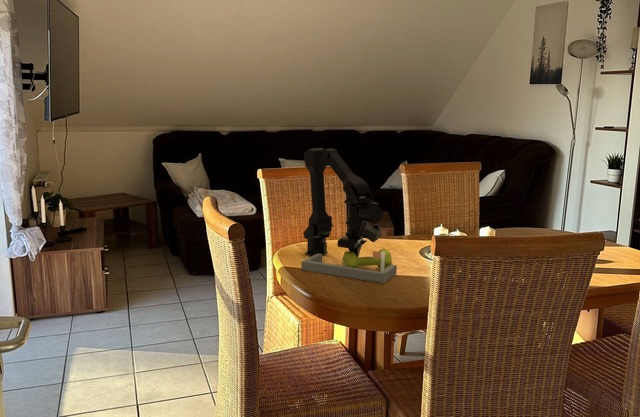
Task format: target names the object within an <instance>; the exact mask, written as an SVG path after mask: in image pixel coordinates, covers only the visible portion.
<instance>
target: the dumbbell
mask: <svg viewBox="0 0 640 417" xmlns="http://www.w3.org/2000/svg"><path fill="white" fill-rule="evenodd" d="M377 251H378V252H385V262H384V269H385V268H387V267H388V266H389V265H391V264H392V263H393V260H392V254H391V252H390V250H388V249H385V248H380V249H379V250H377ZM392 265H393V264H392ZM342 266H346V267H352V268H359V267H366V266H367V267H369V266H377V268H378V269H379V270H380V269H381V259H378V258H373V256H362V257H359V256H358V257H356V255H355V253H353V252H352V251H349V250H345V251H344V253H343V256H342Z"/></svg>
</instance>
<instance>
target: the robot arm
mask: <svg viewBox="0 0 640 417" xmlns="http://www.w3.org/2000/svg"><path fill="white" fill-rule="evenodd" d="M303 160H304V165H305V168H306V169H307V171H308V172H309V175H310V176H309V177H310V180H309V181H310V194H311V196H310V197H311V207H312V210H311V211H312V212H311V213H310V216H309V218H308V226H307V227H306V229H305V230H304V231H303V238H304V239H306V240H307V245H306V247H307V248H306V250H307V251H306V252H305V255H307V256H313V255H315V254H317V253H318V254H323V256H324V255H326V254H328V242H327V238H328V239H329V238H330V235H331V233H332V229H333V226H334V225H333V218H332V215H329V214H328V212H327V208H326V192H325V191H326V190H325V178H324V176H325V175H324V174H325V173H324V172H325V171H326V168H327V166H328V165H329V167H330V168H331V169H332V171H333V172H334V173H335V175H336V176H337V177H338V179H339V180H340V181H341V183H342V189H343V191H344V194H345V195H346V197H347V198H346V199H345V200H344V201H343V203H344V204H346V205H347V206H348V207H347V220H345V225H347V231H346V232H345V236H342V237H340V238H339V239H338V240H337V248H343V249H348V251H352V252H353V253H355V255H356V257H358V258H359V256H360V253H361V249H362V247H363V245H365V244H366V243H367V241H370V243H371V242H372V243H375V242H377V241H378V240H379V239H380V236H381V235H382V230H381V225H380V224H379V223H380V222H381V221H382V220H383V217H384V212H383V210H382V208H381V206H380V203H379V202H375V199H374V196H373V195H372V192H371V190H370V186H369V184H368V183H367V182H366V181H365V180H364V179H363V178H362V177H360V176H358V175H356V174H355V173H354V172H353V171H352V170H351V169H350V167H349V166H348V164H347V163H346V162H345V160H344V159H343V158H342V157H341V156H340V154H339V152H338V150H337V149H335V148H327V149H326V148H325V149H324V148H322V147H321V148H320V147H319V148H309V149H306V151H305V152H304V154H303ZM368 223H372V224H374V225H369V224H368ZM364 238H365V239H366V240H365V239H364Z"/></svg>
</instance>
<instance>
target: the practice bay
mask: <svg viewBox="0 0 640 417" xmlns="http://www.w3.org/2000/svg"><path fill="white" fill-rule="evenodd" d="M378 251H379V250H377V251H376V250H372V257H373V258H378V259H381V269H379V270H380V271H377V270H371V269H364V268H359V267H357V268H352V267H346V266H343V265H338V264H332V263H325V262H323V256H324V255H323V254H318V253H317V254H315V255H310V257H308V258H306V259H304V260H302V261H301V271H307V272H312V273H319V274H324V275H331V276H338V277H342V278H347V279H348V278H349V279H355V280H362V281H367V282H374V283H380V284H385V283H387V282H388V281H389V280H390V279H391V278H393V277H394V276H396V274H397V271H398V270H397V264H391V265H389V266H388V267H387V268H385V269H384V262H385V252H378Z"/></svg>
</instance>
